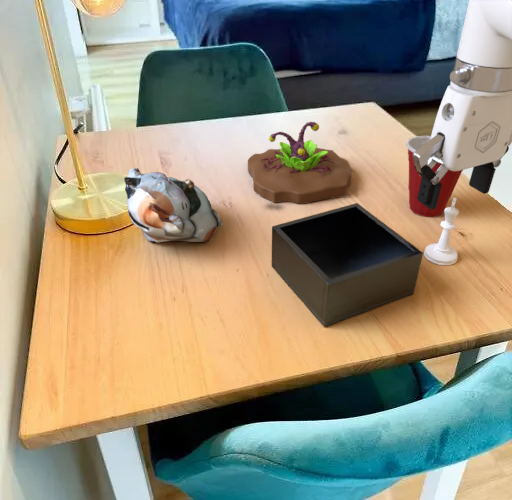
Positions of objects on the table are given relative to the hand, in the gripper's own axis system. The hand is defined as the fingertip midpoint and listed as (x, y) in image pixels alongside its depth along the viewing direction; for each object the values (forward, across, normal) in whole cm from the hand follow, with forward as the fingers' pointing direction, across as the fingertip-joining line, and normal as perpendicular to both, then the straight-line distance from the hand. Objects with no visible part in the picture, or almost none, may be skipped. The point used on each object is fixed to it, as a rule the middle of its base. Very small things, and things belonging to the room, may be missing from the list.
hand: (452, 196), depth 72 cm
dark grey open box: (+10, -17, +1) cm, 20 cm away
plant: (+11, -6, +31) cm, 34 cm away
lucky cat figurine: (+11, -34, +23) cm, 43 cm away
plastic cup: (+10, +8, +11) cm, 17 cm away
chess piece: (+10, 0, -1) cm, 10 cm away
